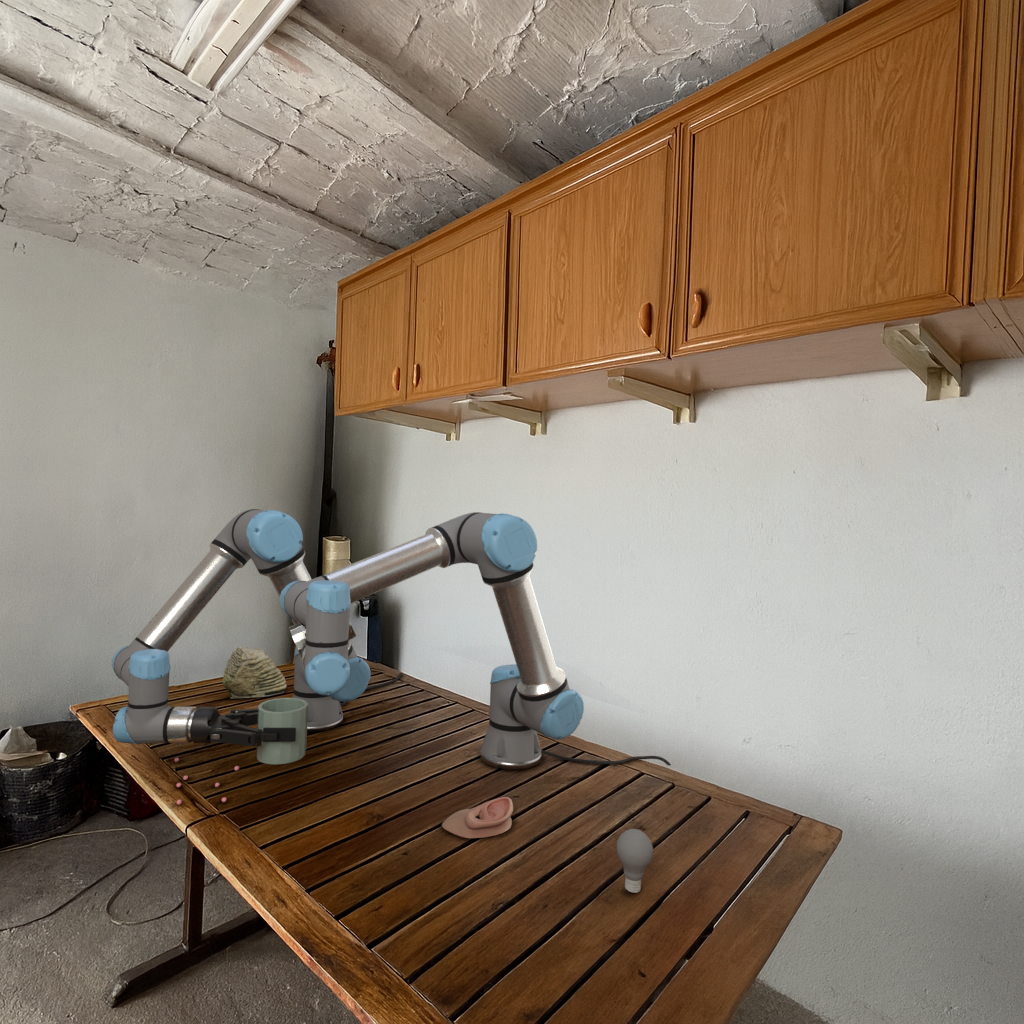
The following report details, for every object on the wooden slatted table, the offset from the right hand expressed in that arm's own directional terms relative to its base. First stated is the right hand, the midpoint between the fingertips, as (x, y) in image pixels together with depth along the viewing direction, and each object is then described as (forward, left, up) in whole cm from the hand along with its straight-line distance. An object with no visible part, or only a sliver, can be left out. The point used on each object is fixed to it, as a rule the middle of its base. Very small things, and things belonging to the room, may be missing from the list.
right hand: (314, 630), depth 145 cm
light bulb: (-48, +61, -33) cm, 84 cm away
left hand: (+3, +6, -20) cm, 21 cm away
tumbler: (-7, +4, +3) cm, 9 cm away
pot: (+6, +5, -26) cm, 27 cm away
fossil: (+13, -61, -33) cm, 70 cm away
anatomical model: (-30, +34, -33) cm, 55 cm away
